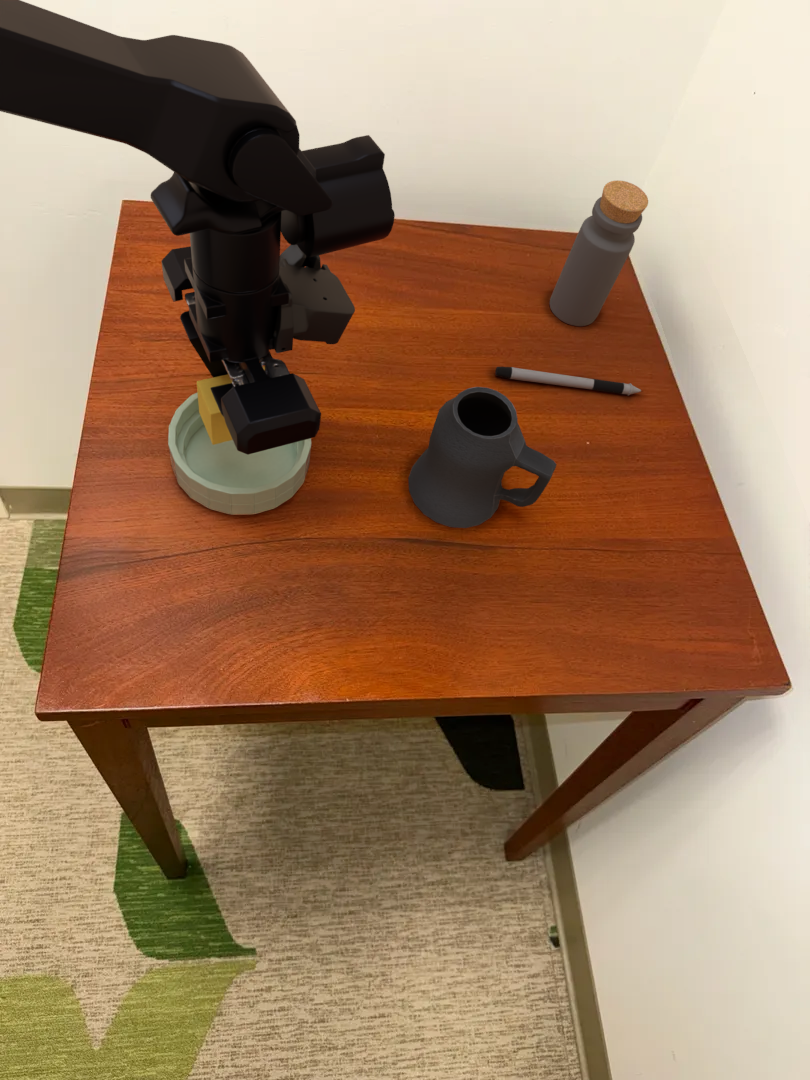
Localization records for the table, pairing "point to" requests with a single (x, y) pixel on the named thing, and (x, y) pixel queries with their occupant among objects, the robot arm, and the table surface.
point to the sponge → (213, 409)
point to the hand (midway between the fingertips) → (239, 413)
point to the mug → (475, 461)
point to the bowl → (232, 467)
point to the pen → (565, 380)
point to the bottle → (598, 254)
